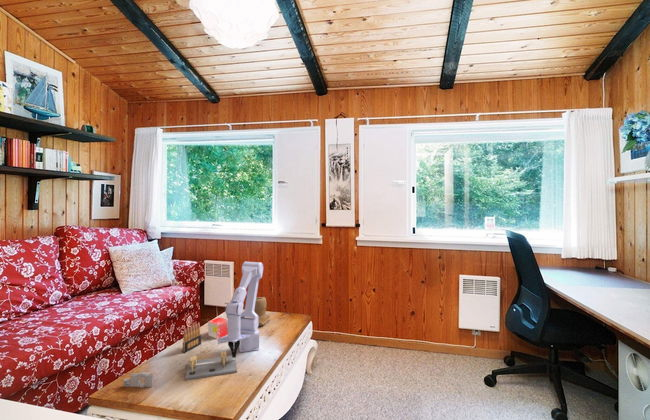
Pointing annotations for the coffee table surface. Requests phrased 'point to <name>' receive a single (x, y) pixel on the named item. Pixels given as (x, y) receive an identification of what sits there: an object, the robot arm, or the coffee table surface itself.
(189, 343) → the ammunition clip
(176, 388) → the coffee table surface
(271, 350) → the coffee table surface
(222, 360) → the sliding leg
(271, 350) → the coffee table surface
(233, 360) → the pitch plate
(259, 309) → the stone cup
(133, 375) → the garden wall model
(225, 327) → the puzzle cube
